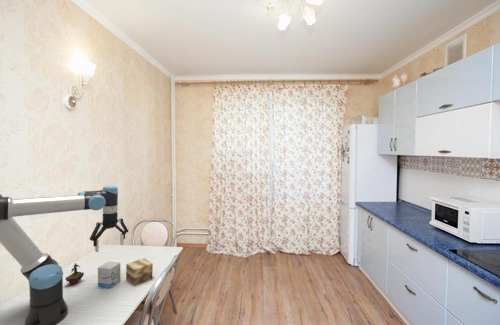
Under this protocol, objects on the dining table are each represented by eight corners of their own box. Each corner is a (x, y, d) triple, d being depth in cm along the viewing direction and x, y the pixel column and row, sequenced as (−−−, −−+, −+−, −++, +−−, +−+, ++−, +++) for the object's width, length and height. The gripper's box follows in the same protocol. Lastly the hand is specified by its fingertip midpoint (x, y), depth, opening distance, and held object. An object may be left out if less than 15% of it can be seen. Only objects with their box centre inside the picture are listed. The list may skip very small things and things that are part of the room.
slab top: (134, 278, 137) (134, 270, 137) (126, 272, 144) (126, 264, 144) (152, 271, 145) (152, 263, 145) (144, 265, 152) (144, 258, 152)
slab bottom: (134, 286, 137) (134, 278, 137) (126, 280, 144) (126, 272, 144) (152, 279, 146) (152, 271, 145) (143, 273, 153) (143, 265, 152)
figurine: (75, 278, 144) (74, 259, 144) (87, 279, 144) (87, 259, 143) (61, 287, 135) (61, 267, 134) (74, 288, 134) (74, 267, 134)
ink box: (109, 288, 134) (109, 269, 134) (97, 286, 136) (97, 267, 135) (121, 280, 143) (120, 262, 142) (108, 279, 144) (108, 260, 144)
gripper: (87, 217, 126) (87, 256, 127) (134, 209, 146) (134, 243, 146) (83, 215, 131) (82, 252, 131) (128, 208, 150) (128, 240, 151)
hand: (109, 248), depth 139 cm, fingers open, 13 cm apart
